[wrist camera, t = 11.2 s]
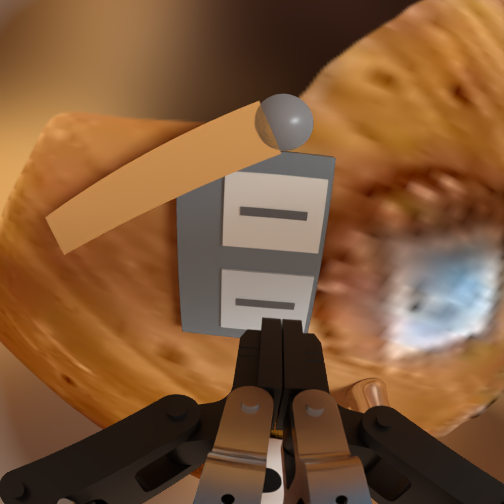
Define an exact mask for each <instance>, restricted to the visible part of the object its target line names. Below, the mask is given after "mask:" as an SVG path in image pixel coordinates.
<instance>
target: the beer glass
mask: <svg viewBox="0 0 504 504" xmlns="http://www.w3.org/2000/svg"><path fill="white" fill-rule="evenodd" d="M346 399H347V402H348V404H349V406H350V408H351V410H353V411H357V412H361V413H365V412H366V411H367V410H368V409H369V408H371V407H374V406H379V405H383V406H388V407H390V404H389V401H388V396H387V387H386V384H385V383H384V381H382V380H380V379H374V378H373V379H366V380H363V381H360V382H358V383H356V384H355V385H353V386H352V387H351V388H350V389H349V390H348V392H347V395H346Z"/></svg>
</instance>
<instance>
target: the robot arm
mask: <svg viewBox="0 0 504 504" xmlns="http://www.w3.org/2000/svg"><path fill="white" fill-rule="evenodd" d="M322 353H323V352H322V346H321V342H320V341H319V339H318V338H317V337H316V336H315V334H311V333H303V327H302V321H301V320H293V319H282V323H281V319H278V318H265V317H262V324H261V330H252V329H247V330H246V331H245V332H244V334H243V335H242V336H241V337H240V343H239V349H238V357H237V362H236V369H235V375H234V381H233V387H232V390H231V392H230V393H229V394H228V395H227V396H226V397H225V398H224V399H222V400H220V401H217V402H213V403H207V404H199V405H198V404H197V403H196V401H195V400H193V399H192V398H190V397H188V396H185V395H179V394H173V395H168V396H165V397H163V398H161V399H159V400H158V401H156V402H154V403H152V404H150V405H149V406H147V407H145V408H143V409H141V410H140V411H138V412H136V413H134V414H132V415H130V416H128V417H127V418H125V419H123V420H121V421H119V422H117V423H115V424H113V425H111V426H109V427H107V428H105V429H103V430H101V431H100V432H97V433H96V434H94V435H91V436H89V437H87V438H85V439H83V440H81V441H79V442H77V443H75V444H72V445H70V446H68V447H66V448H64V449H62V450H59V451H57V452H55V453H53V454H51V455H49V456H46V457H44V458H41V459H39V460H37V461H34V462H32V463H29V464H27V465H24V466H22V467H20V468H17V469H14V470H12V471H10V472H7V473H6V474H5V475H4V476H3V477H2V479H1V481H0V497H1V499H2V501H3V502H4V503H5V504H142V503H144V502H146V501H147V500H149V499H151V498H152V497H154V496H156V495H157V494H159V493H161V492H162V491H164V490H165V489H167V488H169V487H170V486H172V485H173V484H175V483H176V482H178V481H179V480H181V479H182V478H184V477H185V476H187V475H188V474H190V473H191V472H193V471H194V470H196V469H197V468H198V467H200V466H201V465H202V464H203V463H205V464H204V468H203V471H202V475H201V478H200V481H199V485H198V488H197V492H196V495H195V498H194V501H193V504H261V498H262V492H263V486H264V479H265V472H266V465H267V452H268V445H269V437H270V433H271V430H274V426H275V421H276V430H283V441H282V444H281V461H282V473H283V486H284V499H283V504H372V501H371V498H372V499H373V500H374V501H376V502H377V503H378V504H504V484H503V483H501V482H500V481H498V480H497V479H495V478H494V477H492V476H490V475H489V474H487V473H486V472H484V471H483V470H481V469H480V468H478V467H477V466H475V465H474V464H472V463H471V462H469V461H468V460H466V459H465V458H463V457H462V456H460V455H459V454H457V453H456V452H454V451H453V450H451V449H450V448H449V447H447V446H446V445H444V444H443V443H441V442H440V441H438V440H437V439H436V438H434V437H433V436H431V435H430V434H428V433H427V432H426V431H424V430H423V429H421V428H420V427H419V426H417V425H416V424H414V423H413V422H412V421H410V420H409V419H407V418H406V417H405V416H403V415H402V414H401V413H399V412H398V411H396V410H395V409H393V408H391V407H388V406H383V405H379V406H374V407H371V408H369V409H368V410H367V411H366V412H365V413H361V412H357V411H353V410H349V409H346V408H343V407H341V406H340V405H338V404H337V402H336V400H335V399H334V398H333V397H332V396H331V395H330V392H329V387H328V381H327V375H326V369H325V363H324V357H323V354H322Z"/></svg>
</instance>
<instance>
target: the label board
mask: <svg viewBox="0 0 504 504" xmlns="http://www.w3.org/2000/svg"><path fill="white" fill-rule="evenodd" d="M280 152H281V154H279V155H277V156H274V157H271V158H269V159H266V160H264V161H261V162H259V163H256V164H253V165H251V166H248V167H246V168H243V169H241V170H239V171H236V172H234V173H231V174H229V175H227V176H224V177H222V178H219V179H217V180H215V181H212V182H210V183H208V184H205V185H203V186H201V187H199V188H196V189H194V190H192V191H190V192H187V193H185V194H183V195H181V196H179V197H177V248H178V273H179V292H180V308H181V322H182V331H184V332H191V333H199V334H208V335H216V336H226V337H236V338H240V337H241V336H242V335H243V334H244V332H245V331H246V330H247V329H252V330H261V324H262V317H265V318H278V319H281V323H282V319H293V320H301V321H302V327H303V333H308V329H309V324H310V320H311V315H312V310H313V304H314V299H315V294H316V289H317V283H318V278H319V272H320V266H321V260H322V254H323V248H324V242H325V236H326V229H327V222H328V215H329V208H330V201H331V193H332V186H333V178H334V169H335V160H336V158H334V157H332V156H324V155H316V154H307V153H298V152H288V151H280Z"/></svg>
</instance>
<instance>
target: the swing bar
mask: <svg viewBox="0 0 504 504" xmlns="http://www.w3.org/2000/svg"><path fill="white" fill-rule="evenodd" d="M312 129H313V116H312V113H311V111H310V109H309V107H308V106H307V105H306V104H305V103H304V102H303V101H302V100H301V99H299V98H297V97H295V96H293V95H289V94H278V95H274V96H271V97H269V98H267V99H266V100H265V101H263V102H262V103H261V104H260V102H259V101H258V102H255V103H252V104H250V105H248V106H245V107H243V108H240V109H238V110H235V111H233V112H231V113H228V114H226V115H224V116H221V117H219V118H217V119H215V120H212V121H210V122H208V123H206V124H203V125H201V126H199V127H197V128H195V129H193V130H191V131H189V132H187V133H185V134H182V135H180V136H178V137H176V138H174V139H172V140H170V141H169V142H167V143H165V144H163V145H161V146H159V147H157V148H155V149H153V150H151V151H150V152H148V153H146V154H144V155H142V156H140V157H139V158H137V159H135V160H133V161H132V162H130V163H128V164H126V165H125V166H123V167H121V168H119V169H118V170H116V171H114V172H113V173H111V174H109V175H108V176H106V177H105V178H103V179H101V180H100V181H98V182H97V183H95V184H93V185H92V186H90V187H89V188H87V189H86V190H84V191H83V192H81V193H80V194H78V195H77V196H75V197H74V198H72V199H71V200H69V201H68V202H66V203H65V204H63V205H62V206H60V207H59V208H58V209H56V210H55V211H53V212H52V213H51V214H49V215H48V216H47V217H45V218H46V220H47V222H48V224H49V226H50V228H51V230H52V232H53V234H54V236H55V238H56V240H57V242H58V244H59V246H60V248H61V250H62V252H63V254H64V255H65V254H67V253H69V252H71V251H72V250H74V249H76V248H78V247H80V246H81V245H83V244H85V243H87V242H89V241H90V240H92V239H94V238H96V237H98V236H100V235H102V234H104V233H105V232H107V231H109V230H111V229H113V228H115V227H117V226H119V225H121V224H123V223H125V222H127V221H129V220H131V219H133V218H135V217H137V216H139V215H141V214H143V213H145V212H147V211H149V210H151V209H153V208H155V207H157V206H159V205H162V204H164V203H166V202H168V201H170V200H172V199H174V198H176V197H179V196H181V195H183V194H185V193H187V192H190V191H192V190H194V189H196V188H199V187H201V186H203V185H205V184H208V183H210V182H212V181H215V180H217V179H219V178H222V177H224V176H227V175H229V174H231V173H234V172H236V171H239V170H241V169H243V168H246V167H248V166H251V165H253V164H256V163H259V162H261V161H264V160H266V159H269V158H271V157H274V156H277V155H279V154H281V152H280V150H292V149H295V148H298V147H299V146H301V145H303V144H304V143H305V142H306V141H307V140H308V138H309V137H310V135H311V133H312Z"/></svg>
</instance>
